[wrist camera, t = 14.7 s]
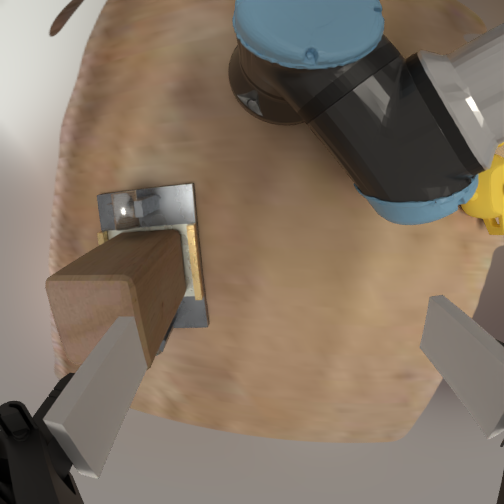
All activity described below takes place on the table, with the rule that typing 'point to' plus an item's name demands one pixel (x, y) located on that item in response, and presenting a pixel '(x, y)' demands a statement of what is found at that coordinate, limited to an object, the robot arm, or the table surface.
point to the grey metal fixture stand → (162, 218)
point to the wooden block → (119, 291)
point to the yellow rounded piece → (489, 197)
